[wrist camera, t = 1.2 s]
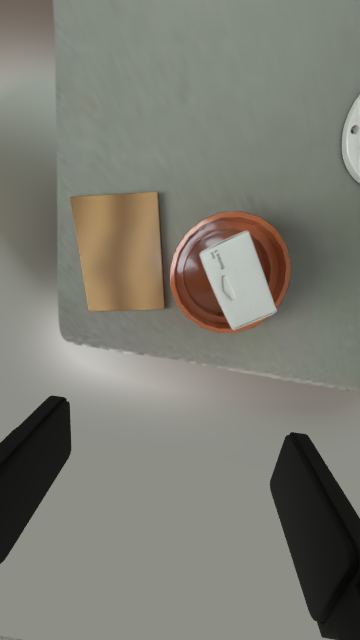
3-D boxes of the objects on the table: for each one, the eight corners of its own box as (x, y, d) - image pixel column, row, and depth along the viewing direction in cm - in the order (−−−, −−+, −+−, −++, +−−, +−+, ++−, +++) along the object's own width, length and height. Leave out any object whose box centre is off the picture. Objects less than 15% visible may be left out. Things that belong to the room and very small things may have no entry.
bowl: (280, 216, 29) (297, 208, 24) (271, 321, 33) (284, 332, 28) (171, 221, 30) (167, 215, 25) (175, 322, 34) (173, 333, 30)
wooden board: (158, 193, 29) (157, 191, 28) (165, 308, 34) (164, 309, 33) (73, 198, 30) (70, 197, 29) (91, 309, 35) (88, 311, 34)
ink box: (250, 293, 32) (282, 314, 21) (219, 307, 33) (232, 334, 22) (229, 237, 30) (250, 226, 19) (196, 253, 31) (198, 252, 19)
